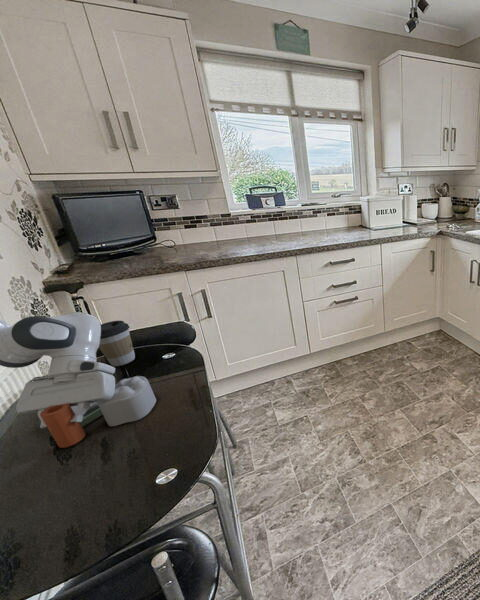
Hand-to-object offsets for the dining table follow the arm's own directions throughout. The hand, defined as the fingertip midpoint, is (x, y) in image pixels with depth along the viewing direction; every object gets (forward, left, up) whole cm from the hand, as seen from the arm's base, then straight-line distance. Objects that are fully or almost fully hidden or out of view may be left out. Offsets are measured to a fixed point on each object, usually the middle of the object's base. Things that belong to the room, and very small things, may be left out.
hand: (61, 425), depth 82 cm
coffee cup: (-31, +35, -6) cm, 47 cm away
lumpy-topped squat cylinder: (+4, +14, -6) cm, 15 cm away
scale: (-11, +10, -6) cm, 15 cm away
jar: (0, +1, -5) cm, 5 cm away
